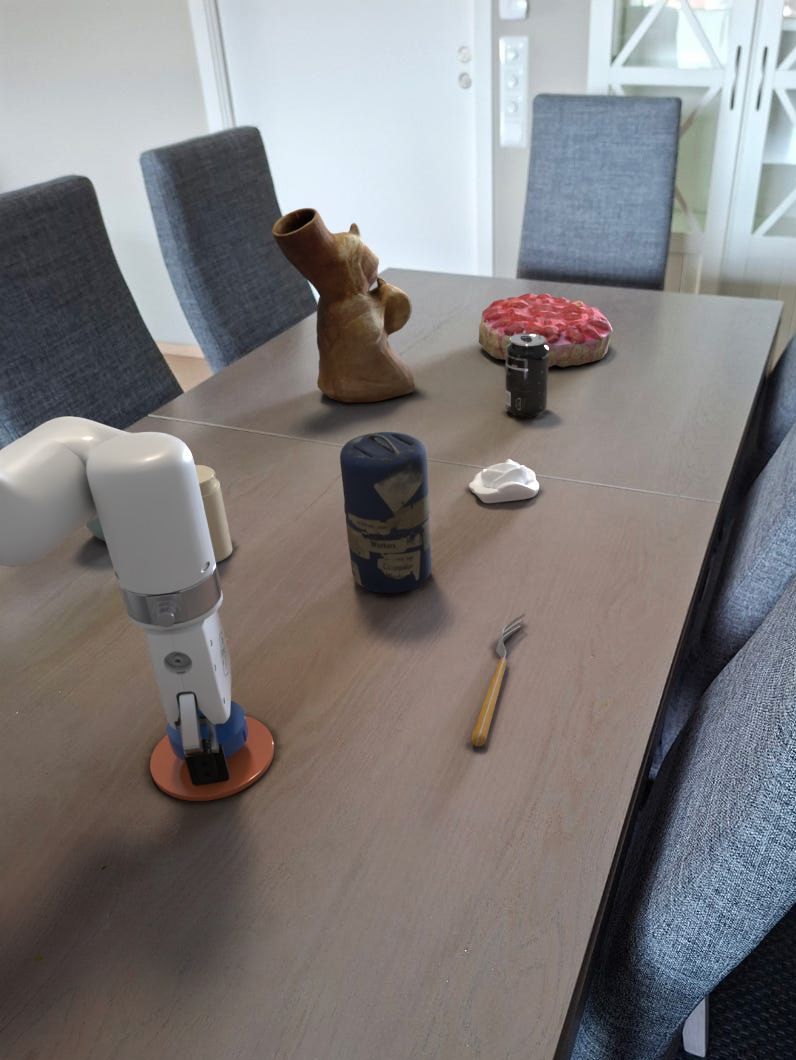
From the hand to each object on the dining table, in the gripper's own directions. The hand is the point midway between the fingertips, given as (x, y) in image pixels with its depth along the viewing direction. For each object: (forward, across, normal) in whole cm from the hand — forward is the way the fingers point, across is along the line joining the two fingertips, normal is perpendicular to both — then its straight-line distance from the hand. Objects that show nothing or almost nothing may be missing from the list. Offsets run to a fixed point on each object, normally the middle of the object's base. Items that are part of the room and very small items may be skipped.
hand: (212, 751), depth 82 cm
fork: (+1, +5, -28) cm, 28 cm away
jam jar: (+1, +38, +2) cm, 38 cm away
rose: (+1, +46, -38) cm, 60 cm away
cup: (+1, +45, +13) cm, 47 cm away
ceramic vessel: (+1, +87, -21) cm, 89 cm away
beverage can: (+1, +73, -48) cm, 87 cm away
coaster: (+1, 0, 0) cm, 1 cm away
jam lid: (-3, 0, 0) cm, 3 cm away
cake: (+1, +103, -59) cm, 119 cm away
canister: (+1, +27, -20) cm, 34 cm away
